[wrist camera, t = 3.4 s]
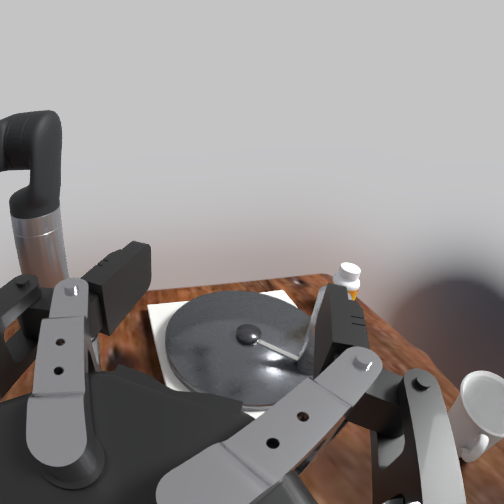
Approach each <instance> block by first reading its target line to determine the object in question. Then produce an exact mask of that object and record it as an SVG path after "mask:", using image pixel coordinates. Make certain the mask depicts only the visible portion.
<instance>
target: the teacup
mask: <svg viewBox="0 0 504 504" xmlns="http://www.w3.org/2000/svg"><path fill="white" fill-rule="evenodd" d="M448 418H449V421H450V425H451V429H452V433H453V437H454V441H455V446H456V450H457V455H458V458H461V457H462V459H463V460H464V461H465V462H468V463H470V462H473V461H475V460H476V459H477V458H479V457H480V455H481V454H482V453H483V452H485V451H486V450H488V449H489V448H490V447H492V446H493V445H494V444H496V443H497V442H498V441H500V440H501V439H503V438H504V379H503V378H501V377H500V376H498V375H496V374H493V373H491V372H487V371H476V372H472V373H470V374H468V375H467V376H466V377H465V378H464V379H463V381H462V384H461V392H460V394H459V396H458V398H457V399H456V401H455V403H454V404H453V406H452V407H451V409H450V411H449V412H448Z"/></svg>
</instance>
